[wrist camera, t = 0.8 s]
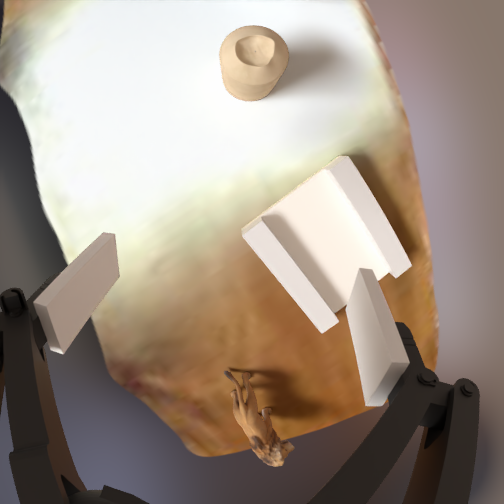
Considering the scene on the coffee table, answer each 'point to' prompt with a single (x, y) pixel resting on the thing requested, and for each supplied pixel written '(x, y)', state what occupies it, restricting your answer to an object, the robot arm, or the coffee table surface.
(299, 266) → the tray
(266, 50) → the candle
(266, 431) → the lion figurine
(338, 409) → the coffee table surface
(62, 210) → the coffee table surface
